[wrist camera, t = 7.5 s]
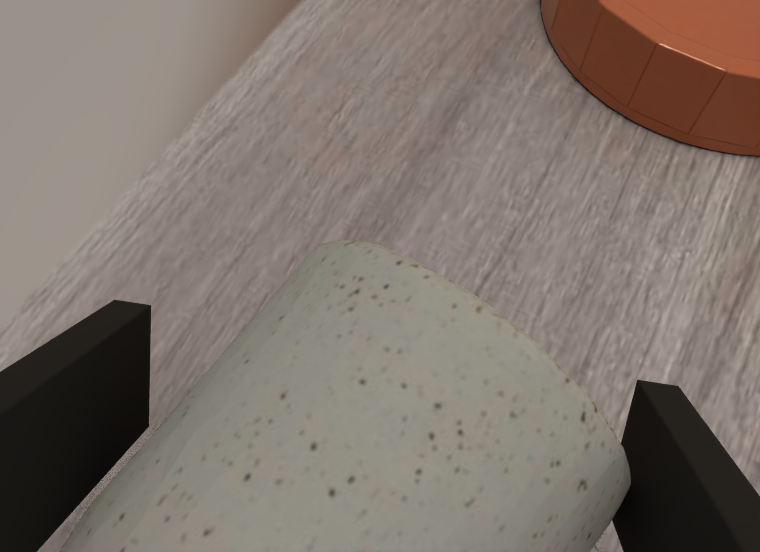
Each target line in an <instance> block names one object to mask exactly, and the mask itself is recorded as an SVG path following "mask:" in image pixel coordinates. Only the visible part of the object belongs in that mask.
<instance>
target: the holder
mask: <svg viewBox="0 0 760 552" xmlns="http://www.w3.org/2000/svg"><path fill="white" fill-rule="evenodd" d="M541 12H542V17H543V21H544V25H545V29H546V32H547V34H548V36H549V39H550V41H551V44H552V46H553V47H554V49H555V51H556V52H557V54H558V55H559V57H560V59H561V60H562V62H563V63H564V64H565V66H566V67H567V68H568V69H569V70H570V72H571V73H572V74H573V75H574V77H575V78H576V79H577V80H578V81H579V82H581V83H582V84H583V85H584V86H585V87H586V88H587V89H588V90H589V91H590V92H591V93H592V94H593V95H595V96H596V97H597V98H599V99H600V100H601V101H603V102H604V103H605V104H607V105H608V106H609V107H611V108H612V109H614V110H615V111H617V112H619V113H620V114H622V115H624V116H625V117H627V118H629V119H630V120H632V121H634V122H636V123H638V124H640V125H642V126H644V127H646V128H648V129H650V130H652V131H654V132H656V133H659V134H662V135H664V136H667V137H670V138H673V139H675V140H678V141H681V142H684V143H687V144H691V145H695V146H698V147H702V148H706V149H710V150H715V151H721V152H727V153H733V154H741V155H754V156H760V0H541Z"/></svg>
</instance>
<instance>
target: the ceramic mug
mask: <svg viewBox="0 0 760 552" xmlns="http://www.w3.org/2000/svg"><path fill="white" fill-rule="evenodd" d="M630 485H631V477H630V468H629V465H628V461H627V458H626V454H625V451H624V448H623V446H622V445H621V443H620V442H619V440H618V438H617V436H616V434H615V433H614V431H613V429H612V428H611V426H610V425H609V424H608V422H607V421H606V419H605V418H604V416H603V415H602V413H601V412H600V411H599V410H598V408H597V407H596V405H595V403H594V402H593V401H592V400H591V399H590V398H589V397H588V396H587V395H586V394H585V393H584V392H583V391H582V390H581V389H580V388H579V387H578V386H577V385H576V383H575V382H574V381H573V380H572V379H571V378H570V376H569V375H568V374H567V373H566V372H565V371H564V369H563V368H562V367H561V366H560V365H559V364H558V363H557V362H556V361H555V360H554V359H552V358H551V357H550V356H549V355H548V354H547V353H546V352H545V351H544V350H543V349H542V348H541V347H540V346H539V345H538V344H537V343H535V342H534V341H533V340H532V339H531V338H530V337H529V336H528V335H527V334H525V333H524V332H523V331H521V330H520V329H519V328H517V327H516V326H514V325H513V324H512V323H510V322H509V321H508V320H507V319H506V318H504V317H503V316H502V315H501V314H499V313H498V312H497V311H496V310H494V309H493V308H492V307H490V306H489V305H488V304H486V303H485V302H484V301H482V300H481V299H480V298H478V297H477V296H475V295H474V294H472V293H470V292H469V291H467V290H466V289H464V288H463V287H461V286H460V285H458V284H456V283H454V282H452V281H450V280H448V279H446V278H444V277H442V276H441V275H439V274H437V273H435V272H433V271H432V270H430V269H428V268H426V267H425V266H423V265H421V264H419V263H418V262H416V261H414V260H413V259H411V258H409V257H406V256H404V255H402V254H399V253H397V252H395V251H392V250H390V249H387V248H385V247H383V246H380V245H377V244H371V243H366V242H364V241H349V240H337V241H332V242H328V243H325V244H323V245H321V246H319V247H317V248H316V249H315V250H313V251H312V252H311V253H310V254H309V255H308V256H307V257H306V258H305V259H304V260H303V262H302V263H301V264H300V265H299V266H298V267H297V269H296V270H295V271H294V272H293V273H292V275H291V276H290V277H289V278H288V280H287V281H286V282H285V283H284V284H283V285H282V286H281V287H280V289H279V290H278V291H277V292H276V293H275V294H274V295H273V297H272V298H271V299H270V301H269V302H268V303H267V304H266V306H265V307H264V308H263V309H262V310H261V311H260V312H259V313H258V314H257V315H256V316H255V317H254V319H253V320H252V321H251V322H250V323H249V324H248V325H247V326H246V328H245V329H244V330H243V331H242V332H241V334H240V335H238V337H237V338H236V339H235V340H234V341H233V342H232V343H231V345H230V346H229V347H228V348H227V349H226V350H225V352H224V353H223V354H222V355H221V357H220V358H219V359H218V360H217V361H216V362H215V363H214V364H213V366H212V367H211V368H210V369H209V370H208V371H207V372H206V374H205V375H204V376H203V377H202V378H201V379H200V380H199V381H198V382H197V384H196V385H195V386H194V387H193V388H192V390H191V391H190V392H189V394H188V395H187V396H186V397H185V398H184V400H183V401H182V402H181V403H180V404H179V405H178V406H177V407H176V408H175V410H174V411H173V412H172V413H171V414H170V415H169V416H168V417H167V419H166V420H165V421H164V422H163V423H162V425H161V426H160V427H159V428H158V429H157V431H156V432H155V433H154V434H153V435H152V437H151V438H150V439H149V440H148V441H147V443H146V444H145V445H144V446H143V447H142V448H141V449H140V450H139V451H138V452H137V453H136V454H135V455H134V456H133V457H132V458H131V459H130V461H129V462H128V463H127V464H126V465H125V466H124V468H123V469H122V470H121V471H120V472H119V473H118V474H117V475H116V476H115V477H114V479H113V480H112V481H111V482H110V483H109V484H108V486H107V487H106V488H105V489H104V490H103V491H102V492H101V493H100V494H99V495H98V497H97V498H96V499H95V500H94V501H93V503H92V504H91V505H90V507H89V508H88V509H87V511H86V512H85V513H84V515H83V516H82V517H81V519H80V520H79V522H78V523H77V525H76V527H75V528H74V530H73V531H72V533H71V535H70V536H69V538H68V539H67V541H66V543H65V544H64V546H63V547H62V549H61V550H60V552H599V551H598V549H597V548H596V546H595V543H596V542H597V540H598V539H599V538H600V536H601V535H602V533H603V532H604V531H605V529H606V528H607V527H608V525H609V524H610V522H611V520H612V519H613V517H614V515H615V514H616V512H617V510H618V508H619V507H620V505H621V503H622V501H623V499H624V497H625V495H626V493H627V491H628V489H629V487H630Z"/></svg>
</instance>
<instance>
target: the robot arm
mask: <svg viewBox="0 0 760 552" xmlns="http://www.w3.org/2000/svg"><path fill="white" fill-rule="evenodd" d="M150 334H151V305H145V304H139V303H132V302H126V301H119V300H113V301H112V302H110V303H109V304H107V305H106V306H104V307H102V308H101V309H99V310H98V311H96V312H94V313H93V314H91V315H90V316H88V317H87V318H85V319H83V320H82V321H80V322H79V323H77V324H75V325H74V326H72V327H71V328H69V329H68V330H66V331H64V332H63V333H61V334H60V335H58V336H56V337H55V338H53V339H52V340H50V341H49V342H47V343H45V344H44V345H42V346H41V347H39V348H38V349H36V350H34V351H33V352H31V353H30V354H28V355H26V356H25V357H23V358H22V359H20V360H19V361H17V362H15V363H14V364H12V365H11V366H9V367H7V368H6V369H4V370H3V371H1V372H0V552H37V551H38V550H39V548H40V547H41V546H42V545H43V544H44V543H45V542H46V541H47V540H48V538H49V537H50V536H51V535H52V534H53V533H54V532H55V531H56V529H57V528H58V527H59V526H60V525H61V524H62V523H63V522H64V521H65V519H66V518H67V517H68V516H69V515H70V514H71V513H72V512H73V511H74V509H75V508H76V507H77V506H78V505H79V504H80V503H81V502H82V500H83V499H84V498H85V497H86V496H87V495H88V494H89V493H90V492H91V490H92V489H93V488H94V487H95V486H96V485H97V484H98V483H99V481H100V480H101V479H102V478H103V477H104V476H105V475H106V474H107V473H108V471H109V470H110V469H111V468H112V467H113V466H114V465H115V464H116V462H117V461H118V460H119V459H120V458H121V457H122V456H123V455H124V454H125V452H126V451H127V450H128V449H129V448H130V447H131V446H132V445H133V444H134V442H135V441H136V440H137V439H138V438H139V437H140V436H141V435H142V433H143V432H144V431H145V430H146V429H147V428H148V427H149V388H150ZM621 445H622V446H623V448H624V451H625V454H626V458H627V461H628V465H629V468H630V477H631V485H630V487H629V489H628V491H627V493H626V495H625V497H624V499H623V501H622V503H621V505H620V507H619V508H618V510H617V512H616V514H615V515H614V517H613V519H612V521H613V524H614V526H615V529H616V532H617V535H618V537H619V540H620V543H621V546H622V549H623V551H624V552H760V496H759V495H758V493H757V492H756V491H755V489H754V488H753V487H752V485H751V484H750V483H749V481H748V480H747V479H746V477H745V476H744V474H743V473H742V472H741V470H740V469H739V468H738V466H737V465H736V464H735V462H734V461H733V460H732V458H731V457H730V456H729V454H728V453H727V451H726V450H725V449H724V447H723V446H722V445H721V443H720V442H719V441H718V439H717V438H716V437H715V435H714V434H713V432H712V431H711V430H710V428H709V427H708V426H707V424H706V423H705V422H704V420H703V419H702V418H701V416H700V415H699V414H698V412H697V411H696V409H695V408H694V407H693V405H692V404H691V403H690V401H689V400H688V399H687V397H686V396H685V395H684V393H683V392H682V390H681V389H680V388H679V386H674V385H668V384H661V383H655V382H648V381H642V380H637V383H636V387H635V391H634V395H633V399H632V403H631V407H630V411H629V415H628V418H627V422H626V426H625V430H624V434H623V438H622V442H621Z"/></svg>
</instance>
